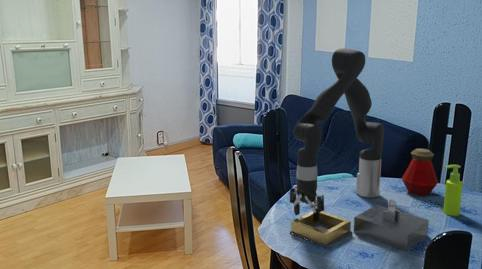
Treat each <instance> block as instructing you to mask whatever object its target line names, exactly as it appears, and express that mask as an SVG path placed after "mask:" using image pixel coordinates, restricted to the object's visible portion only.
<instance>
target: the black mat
mask: <svg viewBox="0 0 482 269" xmlns="http://www.w3.org/2000/svg"><path fill="white" fill-rule="evenodd" d="M309 226H311V227H314V228H317V229H319V230H322V231H327V230H329V229H331V228H333V227H331V226H328V225H325V224H322V223H320V222H315V223H313V224H311V225H309ZM290 233H293V234H295V235H297V236H296V237H298V236H300V237H302V238H305V239H307V240H309V241H308V242H310V241H312V242H314V243H313V244H315V243H317V244H319V245H318V246H320V245H321V246H320V247H322V246H323V247H322V248H324V247H326V248H325V249H327V248H329V247H331V246H332V244H333V245H334V244H336V243H338V242H339V240H340V241H341V240H343V239H344V238H347V237H348V236H350V235H352V234H353V231H351V230H350V232H348V233H347V234H345V235H343V236H341V237H340V238H338V239H336V240H334V241H333V242H331V243H329V244H327V245H323V244H321V243H318V242H316V241H313V240H311V239H308V238H306V237H304V236H301V235H299V234H296V233H294V232H291V230H290V231H289V234H290ZM293 234H292V235H293ZM295 235H294V236H295ZM300 237H299V238H300ZM302 238H301V239H302ZM305 239H304V240H305ZM307 240H306V241H307ZM337 241H338V242H337ZM312 242H311V243H312ZM335 242H336V243H335ZM317 244H316V245H317ZM330 245H331V246H330ZM328 246H329V247H328Z"/></svg>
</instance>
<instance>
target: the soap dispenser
mask: <svg viewBox="0 0 482 269" xmlns="http://www.w3.org/2000/svg"><path fill="white" fill-rule="evenodd" d="M444 167H445V168H447V169H453V170H452V171H451V172H450V175H449V179H447V180H446V181H445V190H444V200H443V211H442V213H443V214H445V215H448V216H452V217H453V216H454V217H458V216H460V214H461V204H462V197H463V196H462V194H463V184H464V183H463V181H460V179H461V178H460V177H461V174H460V173H459V168H461V167H462V166H461V165H459V164H448V165H445V166H444Z"/></svg>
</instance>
